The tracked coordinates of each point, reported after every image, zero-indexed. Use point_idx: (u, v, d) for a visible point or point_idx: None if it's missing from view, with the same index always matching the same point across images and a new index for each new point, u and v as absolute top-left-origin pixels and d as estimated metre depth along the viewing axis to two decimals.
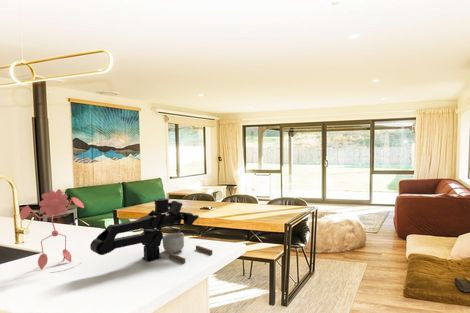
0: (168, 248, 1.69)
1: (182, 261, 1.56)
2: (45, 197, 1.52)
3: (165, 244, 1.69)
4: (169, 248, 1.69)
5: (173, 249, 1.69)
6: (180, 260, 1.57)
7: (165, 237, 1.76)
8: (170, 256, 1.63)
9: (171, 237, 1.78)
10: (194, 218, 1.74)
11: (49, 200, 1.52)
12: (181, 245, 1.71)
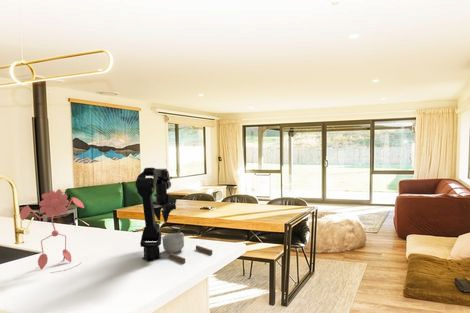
0: (168, 248, 1.69)
1: (182, 261, 1.56)
2: (45, 197, 1.52)
3: (165, 244, 1.69)
4: (169, 248, 1.69)
5: (173, 249, 1.69)
6: (180, 260, 1.57)
7: (165, 237, 1.76)
8: (170, 256, 1.63)
9: (171, 237, 1.78)
10: (166, 216, 1.80)
11: (49, 200, 1.52)
12: (181, 245, 1.71)
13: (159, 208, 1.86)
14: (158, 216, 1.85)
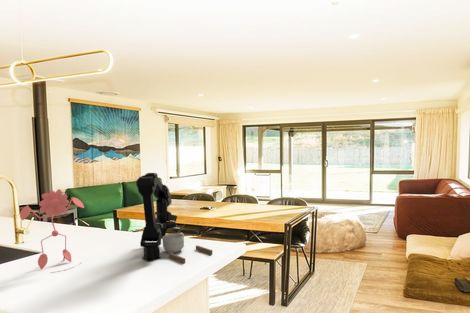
0: (168, 248, 1.69)
1: (182, 261, 1.56)
2: (45, 197, 1.52)
3: (165, 244, 1.69)
4: (169, 248, 1.69)
5: (173, 249, 1.69)
6: (180, 260, 1.57)
7: (165, 237, 1.76)
8: (170, 256, 1.63)
9: (171, 237, 1.78)
10: (163, 233, 1.82)
11: (49, 200, 1.52)
12: (181, 245, 1.71)
13: None
14: None
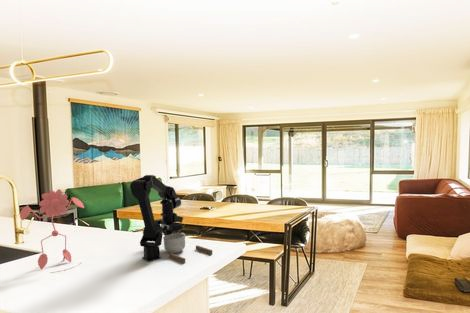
0: (169, 248, 1.68)
1: (182, 261, 1.56)
2: (45, 197, 1.52)
3: (166, 244, 1.69)
4: (170, 248, 1.68)
5: (174, 249, 1.68)
6: (180, 260, 1.57)
7: (166, 237, 1.75)
8: (170, 256, 1.63)
9: (172, 237, 1.78)
10: None
11: (49, 200, 1.52)
12: (182, 245, 1.70)
13: None
14: None
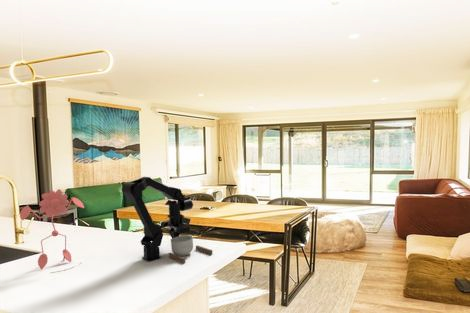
0: (177, 251, 1.64)
1: (182, 261, 1.56)
2: (45, 197, 1.52)
3: (174, 247, 1.64)
4: (178, 251, 1.63)
5: (182, 252, 1.64)
6: (180, 260, 1.57)
7: (173, 240, 1.71)
8: (170, 256, 1.63)
9: (180, 239, 1.73)
10: None
11: (49, 200, 1.52)
12: (190, 248, 1.66)
13: None
14: None
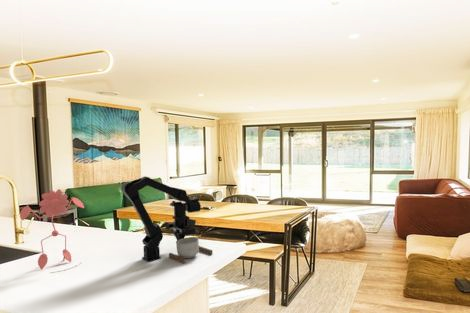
0: (183, 253, 1.60)
1: (182, 261, 1.56)
2: (45, 197, 1.52)
3: (179, 249, 1.61)
4: (184, 253, 1.60)
5: (188, 254, 1.60)
6: (180, 260, 1.57)
7: (179, 241, 1.67)
8: (170, 256, 1.63)
9: (185, 241, 1.69)
10: (181, 238, 1.70)
11: (49, 200, 1.52)
12: (196, 250, 1.62)
13: None
14: None
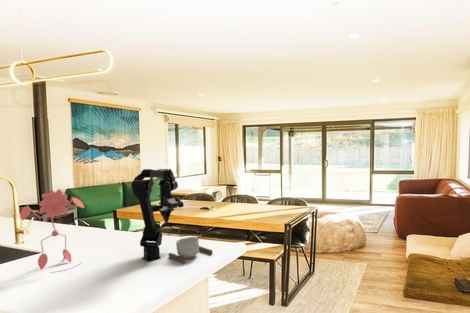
0: (183, 253, 1.60)
1: (182, 261, 1.56)
2: (45, 197, 1.52)
3: (179, 249, 1.61)
4: (184, 253, 1.60)
5: (188, 254, 1.60)
6: (180, 260, 1.57)
7: (179, 242, 1.67)
8: (170, 256, 1.63)
9: (185, 242, 1.69)
10: (163, 216, 1.80)
11: (49, 200, 1.52)
12: (196, 250, 1.62)
13: (168, 210, 1.80)
14: None
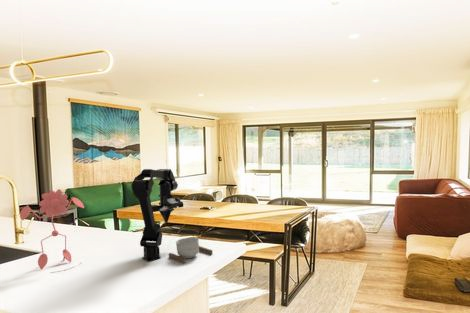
0: (183, 253, 1.60)
1: (182, 261, 1.56)
2: (45, 197, 1.52)
3: (179, 249, 1.61)
4: (184, 253, 1.60)
5: (188, 254, 1.60)
6: (180, 260, 1.57)
7: (179, 242, 1.67)
8: (170, 256, 1.63)
9: (185, 242, 1.69)
10: (163, 216, 1.80)
11: (49, 200, 1.52)
12: (196, 250, 1.62)
13: (167, 210, 1.80)
14: None
